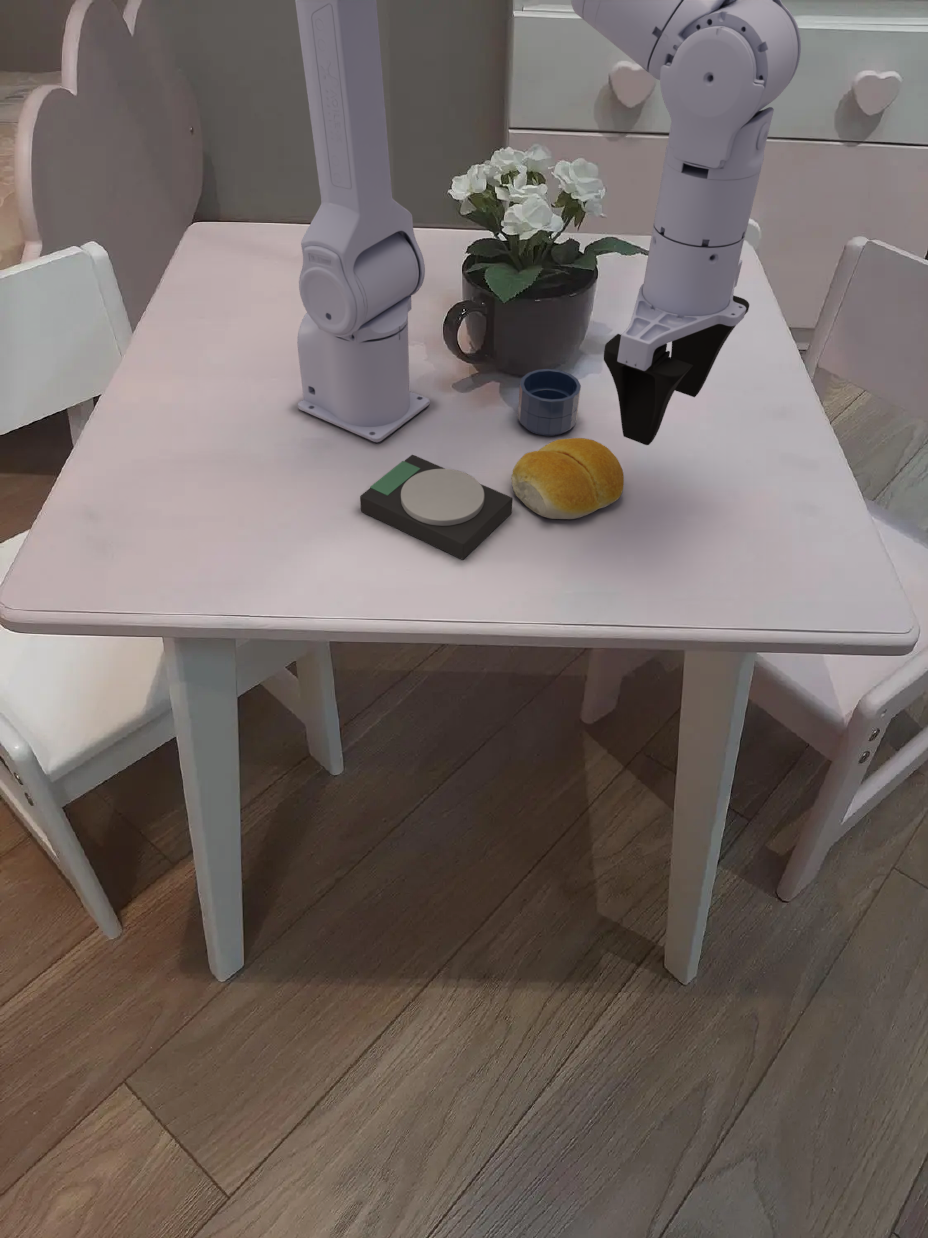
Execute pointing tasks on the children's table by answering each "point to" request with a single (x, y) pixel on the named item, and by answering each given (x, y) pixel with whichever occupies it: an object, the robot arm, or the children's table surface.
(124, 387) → the children's table surface
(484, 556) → the children's table surface
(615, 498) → the bread roll
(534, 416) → the cup
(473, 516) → the scale
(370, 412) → the robot arm
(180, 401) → the children's table surface
